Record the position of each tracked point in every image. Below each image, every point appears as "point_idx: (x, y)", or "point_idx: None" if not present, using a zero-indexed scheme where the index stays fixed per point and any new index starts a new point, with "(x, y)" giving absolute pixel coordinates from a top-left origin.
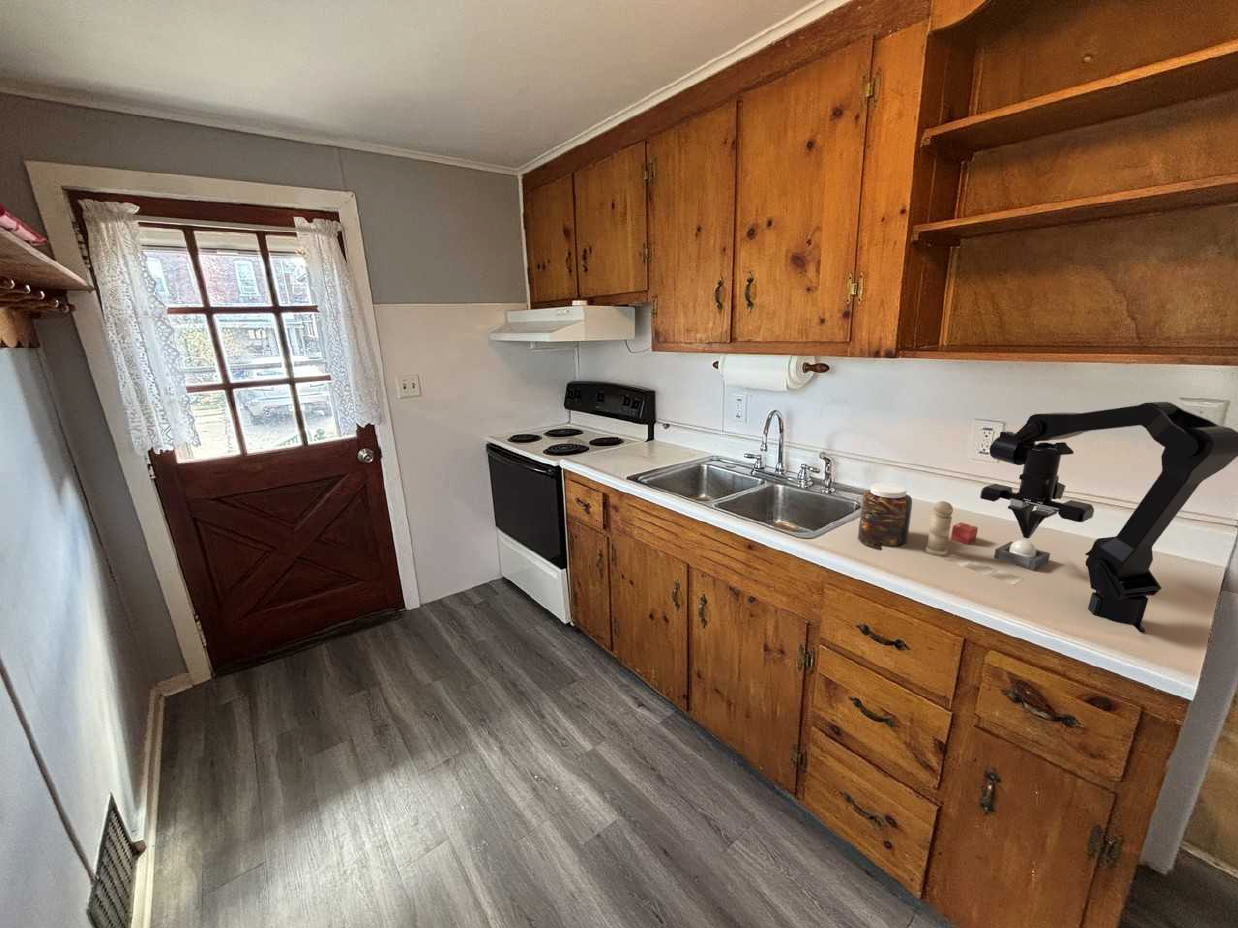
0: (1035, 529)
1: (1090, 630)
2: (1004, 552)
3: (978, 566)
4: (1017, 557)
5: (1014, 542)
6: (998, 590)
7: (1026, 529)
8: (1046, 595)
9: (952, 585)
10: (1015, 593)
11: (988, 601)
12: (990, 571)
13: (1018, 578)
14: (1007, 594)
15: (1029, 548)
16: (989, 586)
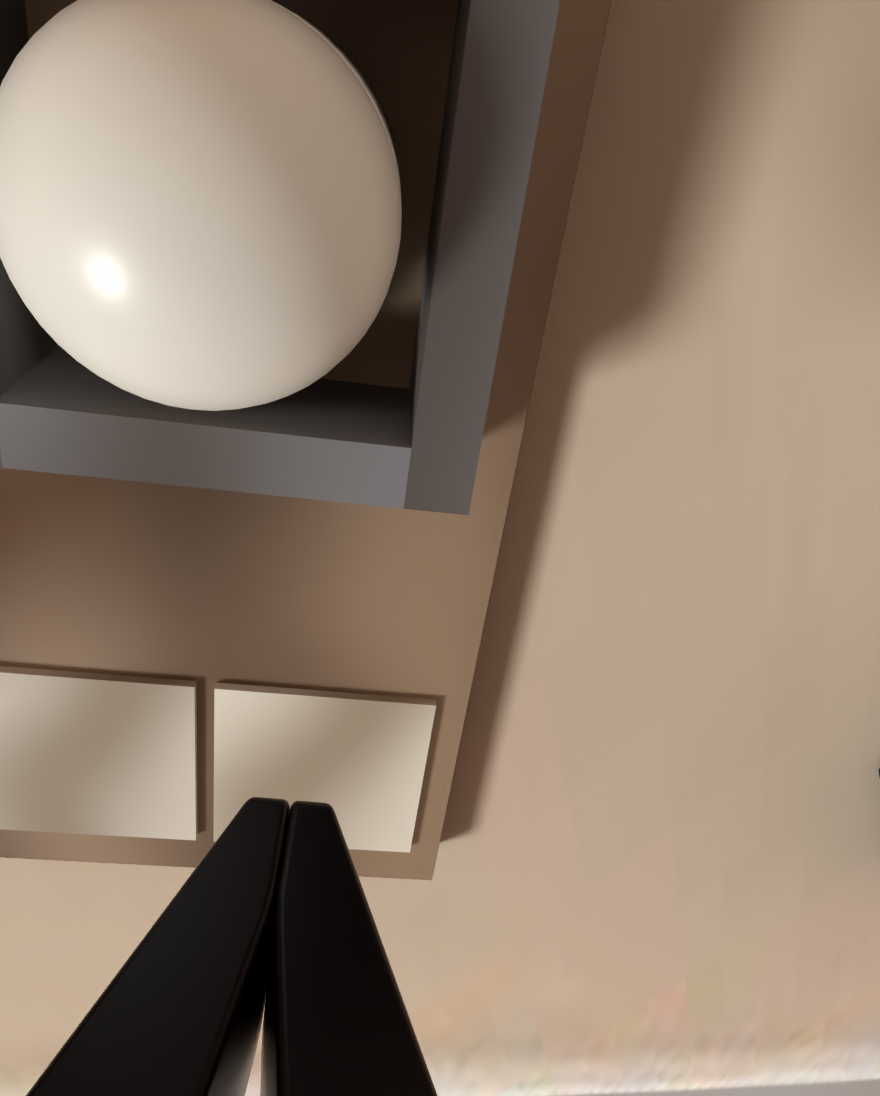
0: (394, 999)
1: (864, 963)
2: (66, 471)
3: (47, 744)
4: (250, 482)
5: (25, 288)
6: None
7: (240, 1079)
8: (625, 738)
9: None
10: (442, 852)
11: None
12: (175, 768)
13: (401, 731)
14: (406, 896)
15: (316, 360)
16: None
